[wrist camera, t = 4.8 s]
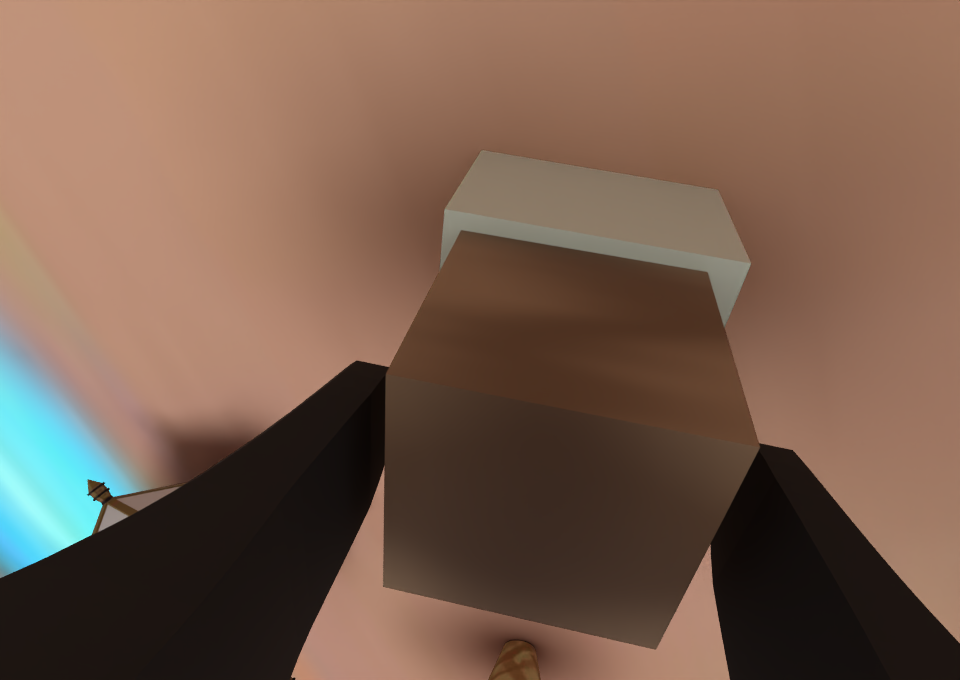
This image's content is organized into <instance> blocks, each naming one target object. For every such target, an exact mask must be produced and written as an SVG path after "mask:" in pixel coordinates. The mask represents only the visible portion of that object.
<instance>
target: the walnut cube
mask: <svg viewBox="0 0 960 680" xmlns="http://www.w3.org/2000/svg"><path fill="white" fill-rule="evenodd" d="M759 449H760V445H759V442H758V439H757V435H756V432H755V429H754V425H753V422H752V419H751V415H750V412H749V408H748V405H747V402H746V398H745V395H744V392H743V388H742V385H741V382H740V378H739V375H738V372H737V368H736V365H735V362H734V358H733V355H732V352H731V348H730V345H729V342H728V338H727V335H726V332H725V328H724V325H723V322H722V318H721V315H720V312H719V308H718V305H717V302H716V298H715V295H714V292H713V288H712V285H711V282H710V278H709V275H708V272H705V271H699V270H693V269H687V268H681V267H675V266H669V265H664V264H658V263H652V262H646V261H640V260H634V259H628V258H623V257H617V256H611V255H605V254H599V253H593V252H587V251H582V250H576V249H570V248H564V247H558V246H552V245H546V244H541V243H535V242H529V241H523V240H517V239H511V238H505V237H499V236H494V235H488V234H482V233H476V232H470V231H464V230H461V231H460V233H459V235H458V237H457V239H456V241H455V243H454V245H453V247H452V248H451V250H450V252H449V254H448V256H447V258H446V260H445V262H444V264H443V266H442V268H441V269H440V271H439V273H438V275H437V277H436V279H435V281H434V283H433V285H432V287H431V289H430V290H429V292H428V294H427V296H426V298H425V300H424V302H423V304H422V306H421V308H420V310H419V311H418V313H417V315H416V317H415V319H414V321H413V323H412V325H411V327H410V329H409V331H408V332H407V334H406V336H405V338H404V340H403V342H402V344H401V346H400V348H399V350H398V352H397V353H396V355H395V357H394V359H393V361H392V363H391V365H390V367H389V369H388V371H387V373H386V396H385V479H384V562H383V587H386V588H391V589H395V590H399V591H404V592H408V593H412V594H417V595H421V596H425V597H430V598H434V599H438V600H443V601H447V602H451V603H456V604H460V605H464V606H469V607H473V608H477V609H482V610H486V611H490V612H495V613H499V614H503V615H508V616H512V617H516V618H521V619H525V620H529V621H534V622H538V623H542V624H547V625H551V626H555V627H560V628H564V629H568V630H573V631H577V632H581V633H586V634H590V635H594V636H599V637H603V638H607V639H612V640H616V641H620V642H625V643H629V644H633V645H638V646H642V647H646V648H651V649H655V650H656V648H657V647H658V645H659V643H660V641H661V639H662V637H663V635H664V633H665V631H666V629H667V627H668V625H669V623H670V621H671V619H672V617H673V615H674V614H675V612H676V610H677V608H678V606H679V604H680V602H681V600H682V598H683V596H684V594H685V592H686V590H687V588H688V586H689V584H690V583H691V581H692V579H693V577H694V575H695V573H696V571H697V569H698V567H699V565H700V563H701V561H702V559H703V557H704V555H705V553H706V551H707V550H708V548H709V546H710V544H711V542H712V540H713V538H714V536H715V534H716V532H717V530H718V528H719V526H720V524H721V522H722V520H723V518H724V517H725V515H726V513H727V511H728V509H729V507H730V505H731V503H732V501H733V499H734V497H735V495H736V493H737V491H738V489H739V487H740V485H741V484H742V482H743V480H744V478H745V476H746V474H747V472H748V470H749V468H750V466H751V464H752V462H753V460H754V458H755V456H756V454H757V453H758V451H759Z"/></svg>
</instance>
